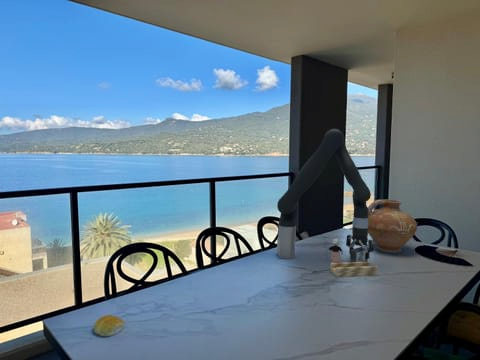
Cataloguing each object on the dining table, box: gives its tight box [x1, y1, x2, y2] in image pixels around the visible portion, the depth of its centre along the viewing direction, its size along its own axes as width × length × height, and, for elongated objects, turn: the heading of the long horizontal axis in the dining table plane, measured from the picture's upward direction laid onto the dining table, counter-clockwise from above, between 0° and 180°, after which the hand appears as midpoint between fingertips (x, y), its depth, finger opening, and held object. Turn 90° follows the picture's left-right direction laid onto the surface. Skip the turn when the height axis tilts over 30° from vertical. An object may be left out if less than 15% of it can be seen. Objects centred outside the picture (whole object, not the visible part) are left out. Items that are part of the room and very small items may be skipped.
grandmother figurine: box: [327, 238, 344, 263], centre depth 164 cm, size 8×4×13 cm, turn 84°
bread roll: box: [93, 314, 125, 337], centre depth 101 cm, size 8×9×4 cm
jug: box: [367, 199, 418, 254], centre depth 186 cm, size 28×28×30 cm
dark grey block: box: [349, 246, 369, 262], centre depth 164 cm, size 12×3×8 cm, turn 128°
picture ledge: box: [329, 261, 379, 278], centre depth 151 cm, size 20×8×4 cm, turn 98°
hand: (359, 257), depth 164 cm, fingers open, 8 cm apart
